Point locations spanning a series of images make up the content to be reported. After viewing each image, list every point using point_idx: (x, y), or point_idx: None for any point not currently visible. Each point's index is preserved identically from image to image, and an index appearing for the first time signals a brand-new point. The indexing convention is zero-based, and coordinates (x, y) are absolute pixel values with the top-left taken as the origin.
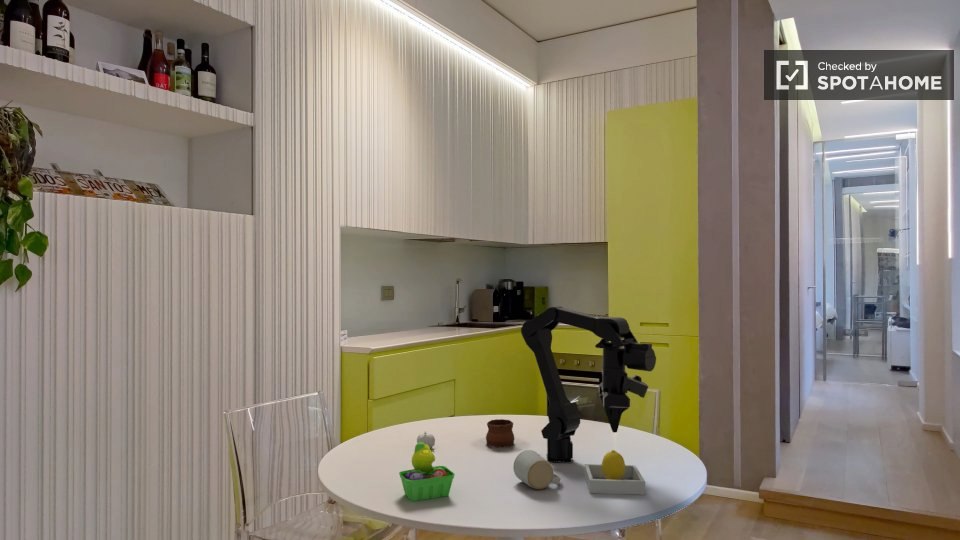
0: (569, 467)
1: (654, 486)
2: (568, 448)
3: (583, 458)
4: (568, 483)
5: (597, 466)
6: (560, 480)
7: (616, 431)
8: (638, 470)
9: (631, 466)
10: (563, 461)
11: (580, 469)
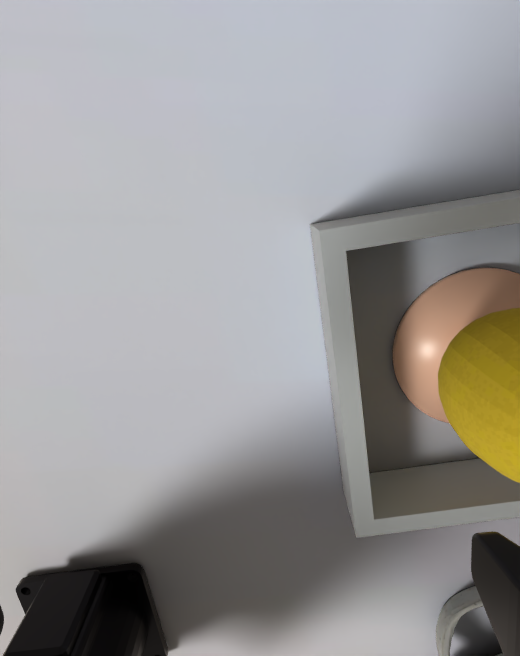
0: (216, 562)
1: (476, 102)
2: (91, 640)
3: (27, 512)
4: None
5: (366, 465)
6: None
7: (504, 543)
8: (451, 209)
9: (345, 259)
10: (150, 599)
11: (235, 514)
